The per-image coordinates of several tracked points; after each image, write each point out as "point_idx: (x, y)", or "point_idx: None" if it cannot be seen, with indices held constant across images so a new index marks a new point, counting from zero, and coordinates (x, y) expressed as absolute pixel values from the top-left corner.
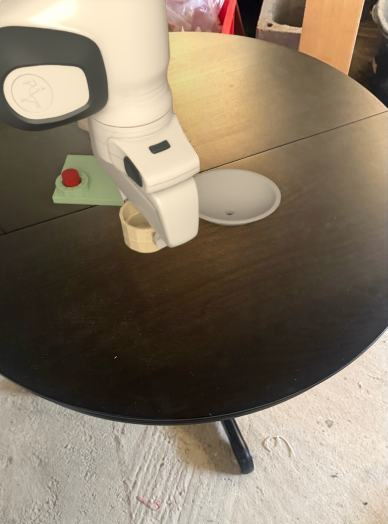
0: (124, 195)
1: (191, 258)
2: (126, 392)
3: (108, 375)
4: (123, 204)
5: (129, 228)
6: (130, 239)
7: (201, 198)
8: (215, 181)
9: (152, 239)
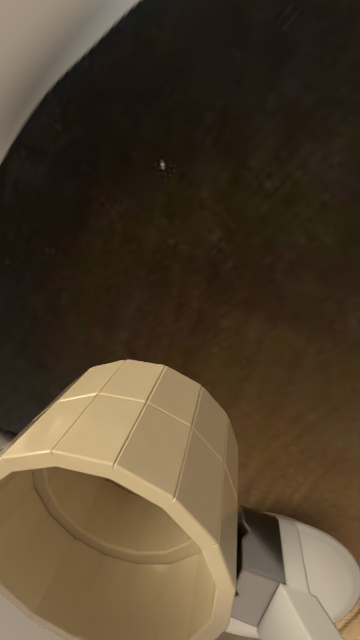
0: (289, 623)
1: (236, 428)
2: (85, 127)
3: (138, 122)
4: (291, 542)
5: (42, 445)
6: (95, 391)
7: (315, 548)
8: (317, 594)
9: (6, 445)
